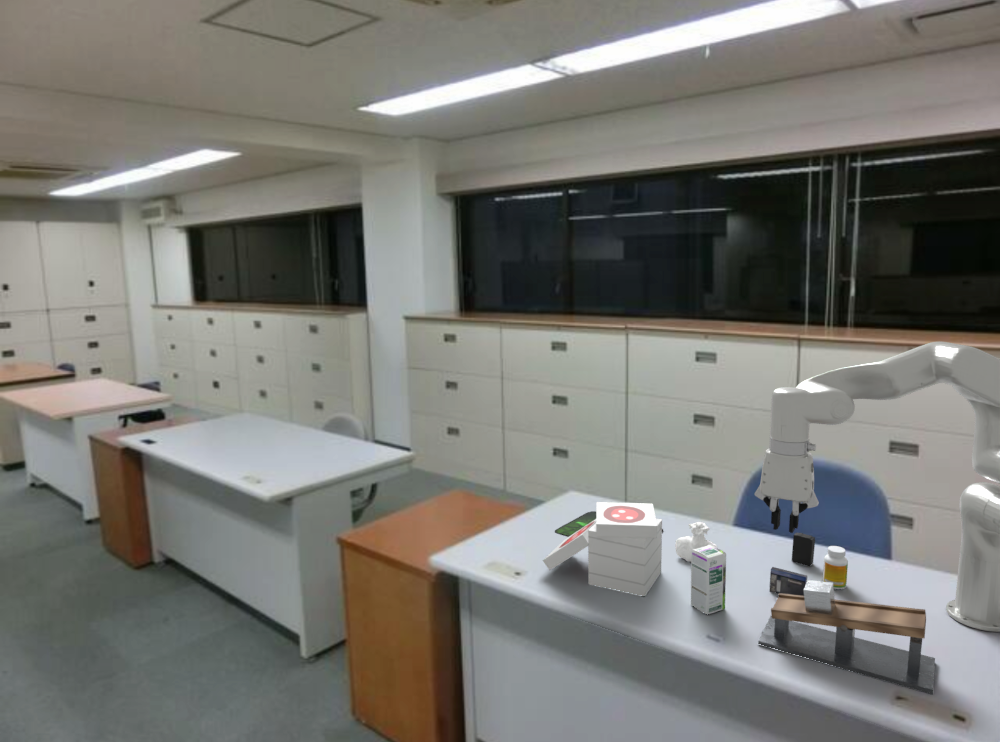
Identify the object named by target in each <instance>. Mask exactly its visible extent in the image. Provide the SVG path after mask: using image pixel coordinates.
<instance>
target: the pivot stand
mask: <svg viewBox="0 0 1000 742" xmlns="http://www.w3.org/2000/svg"><path fill="white" fill-rule="evenodd" d="M835 628H836V629H835V631H831V630H829V629H826V628H820V627H817V626H813V625H810V624H807V623H803V622H797V621H789V620H782V619H774V618H772V615H770V617H769V618H768V621H767V622H766V625H765V626H764V629H763V630H762V632H761V634H760V636H759V639H758V641H757V642H758V644H761V645H764V646H767V647H771V648H775V649H778V650H781V651H784V652H783V653H785V652H788V653H791V654H790V655H792V654H795V655H799V656H802V657H806V658H809V659H813V660H816V661H820V662H823V663H827V664H829V665H828V666H830V665H833V666H832V667H834V666H836V667H835V668H837V667H840V668H839V669H841V668H843V669H842V670H844V669H845V671H848V670H850V671H849V672H851V671H853V672H852V673H855V674H858V673H859V674H858V675H862V676H866V677H869V678H873V679H877V680H880V681H883V682H887V683H889V684H890V683H891V684H894V685H896V686H897V685H898V686H901V687H905V688H908V689H912V690H915V691H918V692H922V693H926V694H929V695H934V687H935V686H934V684H935V664H936V658H935V657H933V656H932V657H931V656H927V655H924V654H922V645H923V638H916V637H910V638H909V648H908V650H905V649H901V648H898V647H893V646H890V645H886V644H883V643H878V642H874V641H870V640H867V639H863V638H859V637H856V636H855V632H856V629H849V628H847V631H846V632H843V631H841V629H840V627H835ZM764 646H763V647H764ZM767 647H766V648H767ZM771 648H770V649H771ZM778 650H777V651H778ZM781 651H780V652H781ZM788 653H787V654H788ZM795 655H794V656H795ZM799 656H798V657H799ZM802 657H801V658H802ZM806 658H805V659H806ZM809 659H808V660H809ZM813 660H812V661H813ZM816 661H815V662H816ZM820 662H819V663H820ZM823 663H822V664H823ZM827 664H826V665H827Z"/></svg>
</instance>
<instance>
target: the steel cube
mask: <svg viewBox="0 0 1000 742" xmlns="http://www.w3.org/2000/svg"><path fill="white" fill-rule="evenodd" d="M835 598H836V597H835V589H834V587H833V583H831V582H823V581H822V580H821V581H820V580H812V579H811V580H809V579H807V583H806V585H805V588H804V599H805V609H806V612H810V613H818V614H826V615H832V614H833V611H834V608H835Z"/></svg>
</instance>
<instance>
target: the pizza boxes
mask: <svg viewBox="0 0 1000 742" xmlns="http://www.w3.org/2000/svg"><path fill="white" fill-rule="evenodd" d="M595 512H596V519H595V520H594V521H592V522H591V523H589V524H587V525H586V526H584V527H583V528H581V529H580V530H578V531H577V532H575V533H574V534H572V535H571V536H569V537H567V538H565V539H563V541H562V542H560V543H559V544H558V545H557V546H556V547H555V548H554V549H553V550H552V551H551V552H550V553H549V554H548V555H546V557H545V558H544V559H542V561H543V563H544V565H545V566H546V567H547V569H548V571H551V570H552V569H554V568H556V567H557V566H559V565H561V564H562V563H564V562H565V561H567V560H569V559H570V558H572V557H574V555H576V554H578V553H580V552H581V551H582V550H584V549H586V548H588V551H587V553H588V554H587V555H588V560H587V561H588V562H587V563H588V565H587V566H588V568H587V570H588V571H587V573H588V574H587V575H588V581H587V582H588V585H589V584H590V585H589V586H593V585H596V586H595V587H598V586H600V587H599V588H602V587H606V588H611V589H616V590H620V591H624V592H629V593H633V594H637V595H642V596H645V595H646V596H647V595H648V593H649V591H650V590H651V588H652V587H653V585H654V584H655V582H656V581H657V579H658V578H659V577H660V575H661V573H662V556H663V555H662V554H663V553H662V550H663V549H662V547H663V546H662V545H663V540H662V539H663V532H662V529H663V519H662V518H656V513H655V512H656V511H655V507H654V504H653V503H649V502H648V503H643V502H642V503H641V502H639V503H638V502H612V501H611V502H606V501H603V502H602V501H601V502H600V501H596V511H595ZM606 588H605V589H606ZM611 589H610V590H611ZM620 591H619V592H620ZM624 592H623V593H624ZM647 592H648V593H647ZM633 594H632V595H633ZM637 595H636V596H637ZM646 596H645V597H646Z"/></svg>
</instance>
